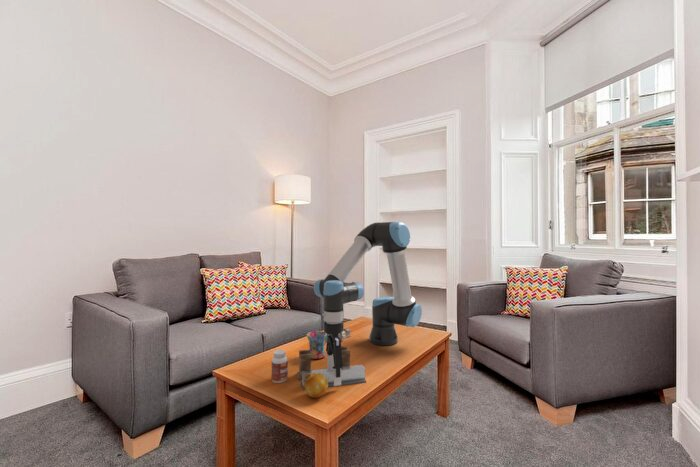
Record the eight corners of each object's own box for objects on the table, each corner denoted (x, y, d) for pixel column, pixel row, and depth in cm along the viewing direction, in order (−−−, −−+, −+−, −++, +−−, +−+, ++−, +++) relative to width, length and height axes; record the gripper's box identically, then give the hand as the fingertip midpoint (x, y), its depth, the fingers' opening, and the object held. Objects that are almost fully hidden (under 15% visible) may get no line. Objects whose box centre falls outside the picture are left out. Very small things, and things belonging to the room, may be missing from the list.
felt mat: (361, 375, 133) (361, 374, 133) (366, 382, 127) (366, 380, 127) (301, 383, 127) (301, 381, 127) (303, 390, 121) (303, 388, 121)
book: (332, 346, 169) (332, 336, 169) (315, 341, 177) (315, 332, 176) (356, 336, 184) (356, 327, 184) (340, 332, 192) (339, 324, 192)
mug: (315, 362, 147) (315, 338, 147) (302, 357, 153) (302, 334, 153) (335, 354, 156) (334, 332, 156) (321, 350, 162) (321, 328, 162)
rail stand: (348, 367, 141) (348, 345, 141) (352, 373, 135) (352, 350, 135) (296, 373, 135) (296, 350, 135) (298, 379, 129) (298, 355, 129)
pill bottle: (282, 384, 125) (281, 355, 125) (268, 382, 128) (268, 353, 128) (290, 377, 131) (290, 350, 131) (277, 375, 134) (277, 348, 133)
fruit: (301, 401, 113) (301, 377, 113) (308, 390, 121) (308, 368, 121) (325, 403, 112) (324, 379, 112) (330, 391, 120) (330, 369, 120)
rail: (362, 375, 131) (362, 364, 131) (365, 379, 128) (364, 367, 128) (302, 383, 125) (302, 371, 125) (303, 386, 122) (302, 374, 122)
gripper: (318, 314, 137) (319, 367, 137) (330, 331, 114) (330, 393, 114) (336, 313, 139) (336, 365, 139) (351, 329, 116) (351, 391, 116)
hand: (334, 378), depth 127 cm, fingers open, 11 cm apart
